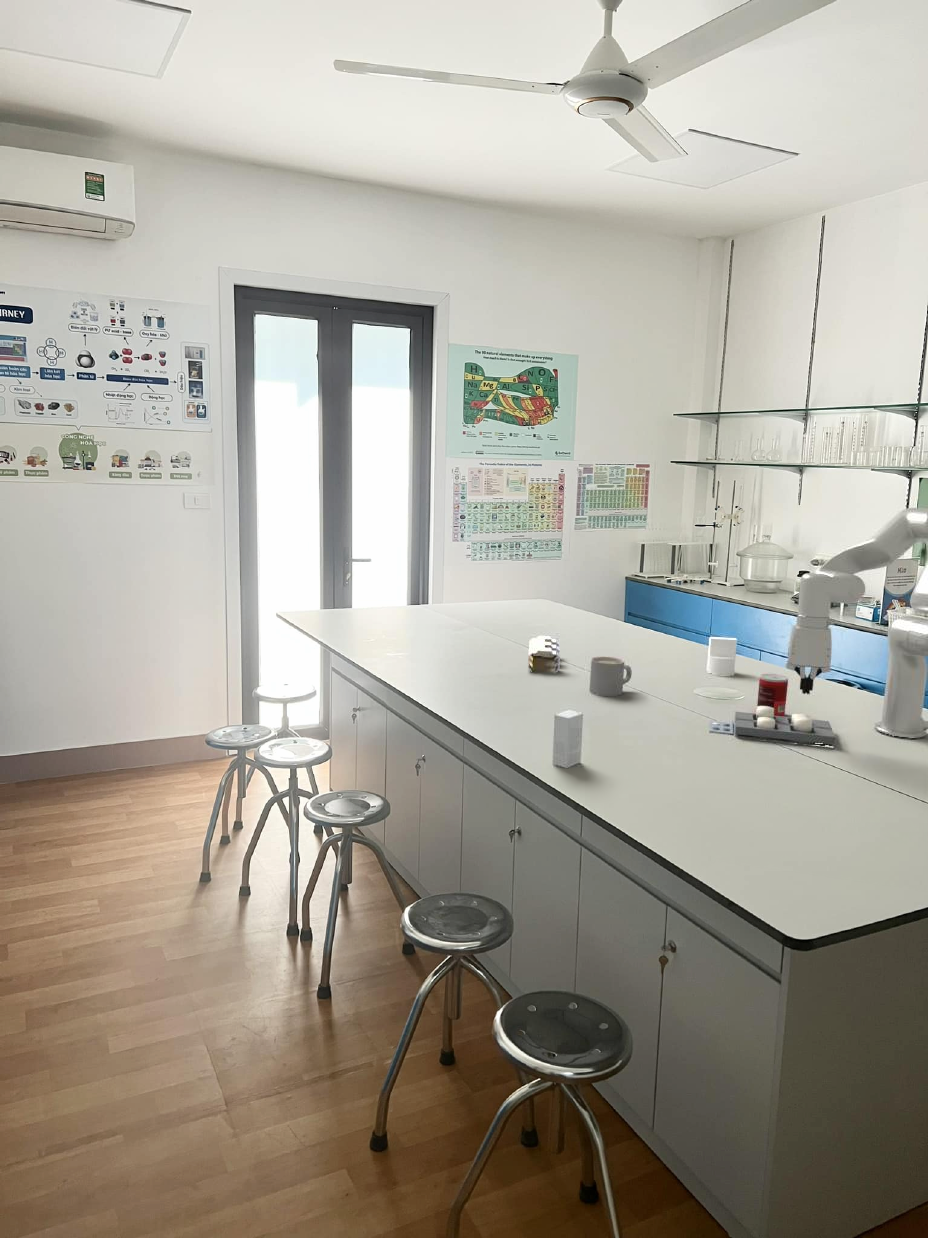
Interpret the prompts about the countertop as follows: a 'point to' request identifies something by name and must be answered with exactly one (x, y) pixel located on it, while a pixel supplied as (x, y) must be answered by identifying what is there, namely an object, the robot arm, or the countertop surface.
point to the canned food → (773, 692)
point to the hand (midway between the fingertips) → (805, 692)
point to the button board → (776, 730)
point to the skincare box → (567, 738)
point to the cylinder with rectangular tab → (721, 655)
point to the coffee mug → (608, 676)
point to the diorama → (544, 650)
